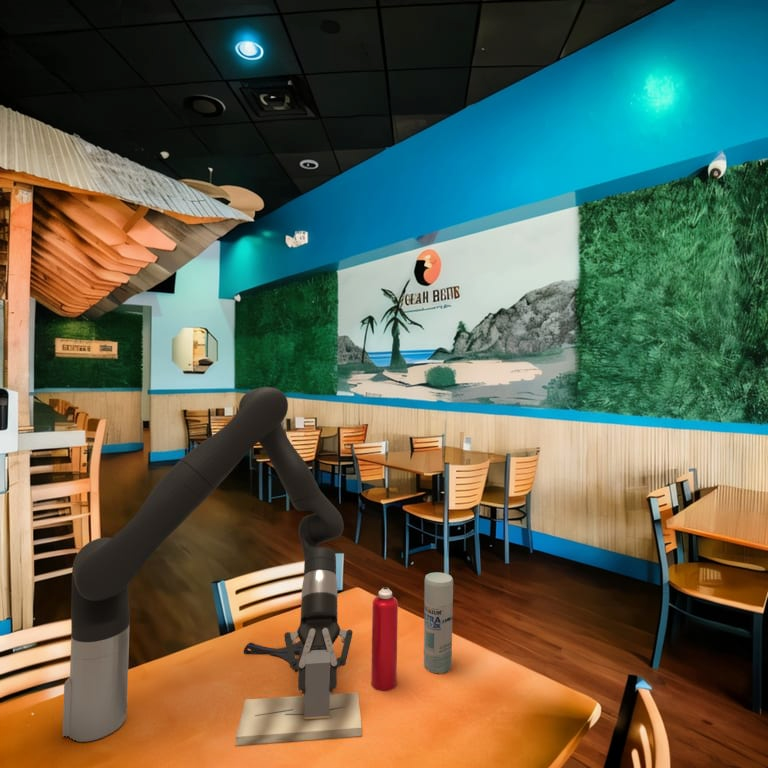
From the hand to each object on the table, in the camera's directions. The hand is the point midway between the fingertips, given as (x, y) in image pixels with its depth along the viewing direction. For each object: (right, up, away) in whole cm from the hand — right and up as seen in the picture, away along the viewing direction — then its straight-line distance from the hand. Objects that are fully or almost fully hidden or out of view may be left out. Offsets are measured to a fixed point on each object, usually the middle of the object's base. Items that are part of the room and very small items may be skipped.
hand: (317, 691), depth 86 cm
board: (-3, -6, +1) cm, 7 cm away
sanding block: (0, -5, +2) cm, 5 cm away
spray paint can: (+25, -8, +20) cm, 33 cm away
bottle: (+12, -7, +13) cm, 20 cm away
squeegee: (-13, -8, +24) cm, 29 cm away
